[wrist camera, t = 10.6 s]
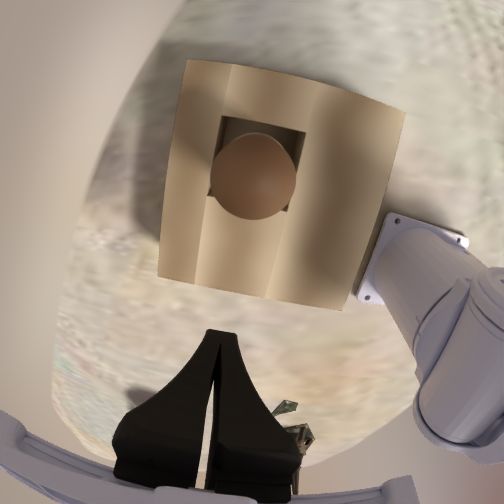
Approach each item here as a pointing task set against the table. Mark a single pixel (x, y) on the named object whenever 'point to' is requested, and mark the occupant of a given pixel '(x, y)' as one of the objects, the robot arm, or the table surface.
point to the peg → (253, 177)
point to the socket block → (305, 194)
